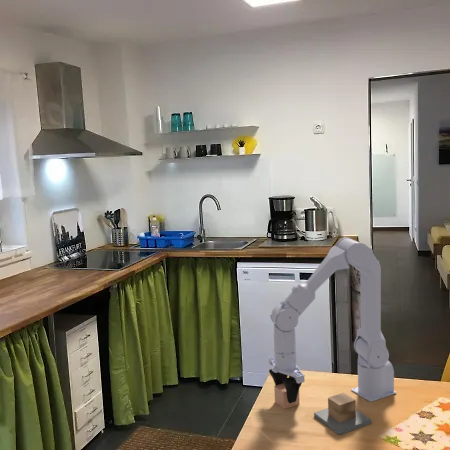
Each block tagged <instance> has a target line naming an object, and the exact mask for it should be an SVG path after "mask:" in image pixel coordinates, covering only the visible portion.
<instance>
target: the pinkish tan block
mask: <svg viewBox="0 0 450 450" xmlns="http://www.w3.org/2000/svg"><path fill="white" fill-rule="evenodd" d="M273 388H274V389H273V390H274V391H273V392H274V402H275V403H276V404H277V405H278V406H279V407H281V408H282V409H283V410H285V409H288V408H291V407H295V406H297V405H298V406H299V405H300V390H299V391H298V395H297V399H296V402H293V403H289V402H288V399H287V392H286V388H285V385H284V383H283V384H280V385H276V386H275V385H274V386H273Z"/></svg>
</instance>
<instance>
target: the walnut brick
mask: <svg viewBox="0 0 450 450" xmlns="http://www.w3.org/2000/svg"><path fill="white" fill-rule="evenodd" d="M356 403H357V402H356V399H355V398H354V397H352V396H351V395H348V394H347V393H345V392H342V393H338V394H335V395H333V396H330V397H327V408H328V415H329V416H331V417H332V418H334V419H335V420H337V421H338V422H339V423H341V422H344V421H347V420H349V419H352V418H355V417H356V410H357V409H356V407H357V406H356Z"/></svg>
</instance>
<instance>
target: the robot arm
mask: <svg viewBox="0 0 450 450" xmlns="http://www.w3.org/2000/svg"><path fill="white" fill-rule="evenodd" d="M373 252H374V251H373V249H372V248H371V247H369V246H368V245H367V244H365V243H362V242H359V241H357V240H354V239H353V238H351V237H342V238H340V239H339V240H338V241H337V242H336V244H335V245H333V246H332V247H331V248H330V249H329V251H328V253H327V255H326V256H325V257H324V259H323V260H322V261H321V262H320V264H319V265H318V266H317V268H316V269H315V270H314V271H313V273H312V274H311V275H310V276H309V278H308V279H307V280H306V282H304V283H298V284H297V285H296V286H295V285H294V286H293V287H292V288H291V292H290V293H289V295H288V296H287V297H286V298H285V299H284V300H281V302H280V303H279V305H277V306H275V307H274V308H273V309H272V311H271V314H270V315H269V316H270V319H271V321H272V323H274V324H273V347H274V350H273V351H274V356H269V357H268V365H270V366H272V367H271V369H269V370H268V372H269V374H270V376H271V377H272V380H273V382H274V386H276V385H280V384H283V383H284V385H285V388H286V392H287V399H288V402H289V403H293V402H296V399H297V395H298V391H299V392H300V387H301V385H302V383H305V374H303V372H302V371H301V369H300V368H299V366H298V365H297V345H296V343H297V341H296V330H295V329H296V327H297V326H298V324H299V318H300V317H301V315H302V314H303V313H304V312H305V311H306V310H307V308H308V307H309V306H310V305H311V304H312V303H313V302H314V301H315V299H316V291H318V289H320V287H321V286H322V285H323V284H324V283H326V282H327V280H328V279H329V278H330V277H331V276H332V275H333V274H334V273H335V272H336V271H339V270H347V269H350V266H353V268H355V269H356V270H357V271H358V272H359V275H360V277H359V279H360V280H359V281H360V282H359V283H360V286H359V288H360V290H359V291H360V299H359V300H360V302H359V303H360V307H359V308H360V311H359V312H360V315H359V316H360V323H359V325H360V327H359V328H358V329H357V331H356V338H355V340H354V342H353V348H354V351H355V353H356V354H357V387H352V388H351V392H353V393H354V394H356V395H358V396H359V397H361V398H362V399H364V400H366V401H368V402H370V403H372V402H374V401H378V400H380V399H381V400H382V399H383V398H387V397H389V396H393V395H396V394H397V391H396V390H395V371H394V367H393V364H392V362H391V361H390V360H389V357H390V354H389V353H390V352H389V350H388V348H387V345H386V338H385V337H384V334H383V333H382V328H381V327H382V324H381V323H382V321H381V318H382V314H381V312H382V311H381V310H382V305H381V304H382V293H381V292H382V289H381V288H382V268H381V264H380V262H379V261H378V259H377V257H376V256H375V254H374V253H373ZM349 265H350V266H349Z"/></svg>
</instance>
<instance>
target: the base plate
mask: <svg viewBox="0 0 450 450" xmlns="http://www.w3.org/2000/svg"><path fill="white" fill-rule="evenodd" d="M313 416H314V418H316V419H317V420H318V421H320V422H321V423H323V424H324V425H325V426H327V427H328V428H329V429H330V430H332V431H333V432H334V433H336V434H337V435H339V436H340V435H344V434H345V433H348V432H351V431H354V430H356V429H360V428H362V427H365V426H367V425H371V424H372V419H371V418H370V417H369V416H367V415H365V414H364V413H362V412H360V411H359V410H357V409H356V417H355V418H352V419H349V420H347V421H344V422H341V423H339V422H338V421H337V420H335V419H334V418H332V417H331V416H329V415H328V407H327V408H324V409H321V410H318V411H315V412H313Z"/></svg>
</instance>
